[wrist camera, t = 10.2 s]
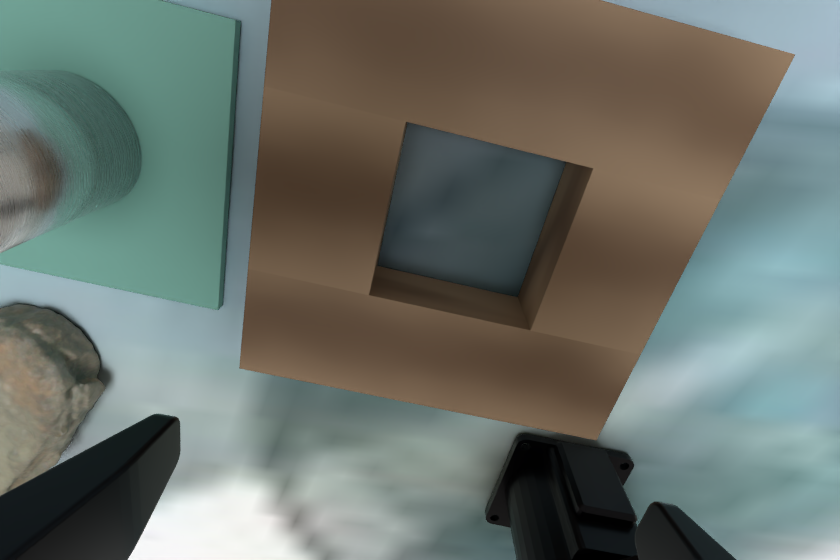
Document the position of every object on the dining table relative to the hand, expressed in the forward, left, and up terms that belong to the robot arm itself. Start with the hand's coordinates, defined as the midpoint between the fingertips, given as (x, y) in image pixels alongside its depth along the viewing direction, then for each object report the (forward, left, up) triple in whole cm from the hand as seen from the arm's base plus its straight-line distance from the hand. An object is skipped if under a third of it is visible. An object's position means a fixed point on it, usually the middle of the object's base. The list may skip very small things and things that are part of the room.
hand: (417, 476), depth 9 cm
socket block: (+2, -1, -13) cm, 13 cm away
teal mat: (+1, +15, -13) cm, 19 cm away
